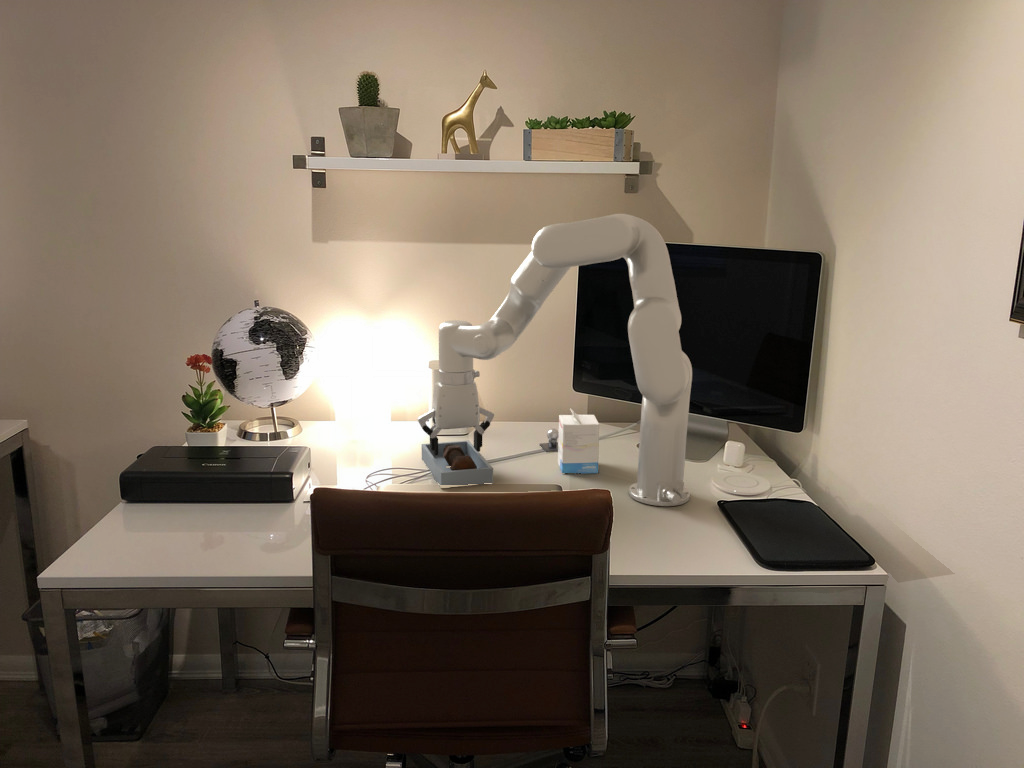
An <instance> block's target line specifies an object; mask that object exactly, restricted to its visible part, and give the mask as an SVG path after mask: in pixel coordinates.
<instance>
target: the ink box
mask: <svg viewBox="0 0 1024 768" xmlns="http://www.w3.org/2000/svg"><path fill="white" fill-rule="evenodd" d="M569 410H570V411H571V414H559V415H558V432H559V437H558V439H557V442H558V451H557V464H558V467H559V468H560V471H561V473H562V474H563V473H575V474H574V475H577V474H576V473H578V475H579V473H581V474H598V473H599V449H600V448H599V447H600V445H599V444H600V423H599V421H598V419H597V417H596V416H595V414H577V413H576V412H575V411H574V410H573V409H572V408H569ZM581 474H580V475H581Z"/></svg>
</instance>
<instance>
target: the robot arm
mask: <svg viewBox="0 0 1024 768" xmlns="http://www.w3.org/2000/svg"><path fill="white" fill-rule="evenodd" d="M621 258H623V259H624V260H625V261H626V264H627V267H628V277H629V283H630V288H631V291H632V292H631V293H632V299H633V300H632V301H633V309H632V311H631V312H630V315H629V318H628V322H627V333H628V335H627V336H628V341H629V346H630V353H631V358H632V363H633V365H632V366H633V370H634V375H635V376H634V377H635V380H636V381H635V382H636V385H637V388H638V390H639V392H640V394H641V395H642V400H641V411H640V412H641V413H640V423H639V424H640V427H639V428H640V429H639V440H638V441H639V443H638V460H637V461H638V462H637V478H636V480H637V481H636V482H634V483H633V484H631V485H630V486H629V488H628V490H629V491H628V494H629V496H630V497H631V498H632V499H633V500H635V501H637V502H639V503H642V504H646V505H650V506H654V507H655V506H656V507H674V506H680V505H684V504H686V503H687V502H688V501H690V499H691V492H690V490H689V489H688V488H687V487H685V486H684V485H685V482H684V480H685V479H684V478H685V477H684V475H685V461H686V450H687V448H686V447H687V438H688V437H687V436H688V435H687V433H688V423H689V413H690V400H691V391H692V390H691V389H692V382H693V367H692V366H693V365H692V363H691V361H690V358H689V357H688V355H687V354H686V353H685V352H684V351H683V350H682V343H681V337H680V333H679V331H680V329H681V325H682V313H681V310H680V306H679V305H680V304H679V299H678V297H677V296H678V295H677V294H678V293H677V290H676V284H675V282H676V281H675V279H674V274H673V269H672V264H671V258H670V254H669V250H668V247H667V245H666V242H665V240H664V238H663V236H662V235H661V234H660V232H659V231H658V230H657V228H656V227H655V226H653V225H652V224H651V223H650V222H648V221H647V220H644V219H642V218H641V217H637V216H635V215H632V214H628V213H612V214H610V215H605V216H604V215H603V216H600V217H595V218H588V219H584V220H578V221H572V222H565V223H564V222H563V223H561V222H560V223H559V222H558V223H554V224H548V225H546V226H543V227H542V228H541V229H539V230H538V231H537V232H536V233H535V236H533V240H532V243H531V250H530V252H529V253H528V254H527V256H526V257H525V258H524V260H523V261H522V263H521V264H520V265H519V267H517V269H516V271H514V273H513V275H512V276H511V279H510V282H509V285H510V286H509V291H508V294H507V295H506V297H505V298H504V301H502V303H501V305H500V306H499V308H498V309H497V310H496V311H495V313H494V314H493V315H492V317H491V318H490V319H489V320H487V321H485V322H483V323H481V324H478V325H473V324H472V323H471V322H470V321H467V320H456V319H455V320H445V321H443V322H441V323H440V325H439V326H438V381H437V382H434V383H435V384H434V389H433V396H432V406H431V409H430V410H428V411H427V412H425V413H423V414H422V415H420V416H418V417H417V419H416V420H417V422H418V424H419V426H420V427H421V429H422V430H423V431H424V432H425V434H427V435H428V436H429V444H430V450H431V451H432V452H433V453H434V455H438V443H439V438H438V436H437V435H438V434H439V433H440V432H441V431H442V430H454V429H465V428H466V429H468V428H474V429H475V430H474V432H473V446H474V449H475V450H476V451H478V452H479V453H480V452H481V447H483V435H484V433H485V432H486V430H487V429H488V428H489V427H490V426H491V423H492V421H493V419H494V418H495V413H493V412H492V411H490V410H488V409H485V408H483V407H481V406H480V401H479V392H478V386H477V383H476V382H475V379H476V378H479V377H480V371H479V370H475V369H474V359H477V360H482V361H488V360H492V359H495V358H496V357H497V356H499V355H501V354H502V353H505V352H506V351H507V350H509V349H510V348H512V346H513V345H514V344H515V342H516V341H517V340H518V339H519V337H520V336H521V334H522V333H523V332H524V331H525V330H526V328H527V327H528V326H529V325H530V323H532V320H533V319H534V318H535V316H536V314H537V313H538V311H539V310H540V309H541V308H542V306H543V305H544V303H545V301H546V300H547V298H548V297H549V296H550V295H551V293H552V292H553V291H554V289H555V288H556V287H557V285H558V284H559V283H560V281H561V280H562V279H563V278H564V277H565V275H566V274H568V271H569V270H570V269H571V268H573V267H581V266H587V265H592V264H598V263H606V262H611V261H612V262H613V261H615V260H620V259H621ZM480 415H483V416H485V417H484V420H483V421H482V422H481V423H480V419H481V416H480ZM430 419H431V420H432V426H431V427H429V426H428V425H427V421H429V420H430Z"/></svg>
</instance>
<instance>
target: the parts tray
mask: <svg viewBox="0 0 1024 768" xmlns="http://www.w3.org/2000/svg"><path fill="white" fill-rule="evenodd" d="M446 445H459V446H460V447H461V449H462V451H463V452H464V454H465V456H468V455H470V457H471V458H472V460H473V461H474V463H475V464H476V466H477V469H466V470H455V471H452V470H451V469H450V468H446V466H449V464H448V463H447V461H446V460H445V458H444V457H443V454H444V448H446V447H445V446H446ZM421 460H422V462H423V461H424V462H423V464H426V465H425V466H426V467H428V468H429V469H428V468H427V469H428V471H429V470H430V471H431V472H430V471H429V472H430V474H431V473H432V474H431V475H432V477H433V478H435V479H434V480H435V481H437V482H438V483H439V484H440V485H468V484H484V483H494V468H493V466H491V464H490V463H489V462H488V460H486V458H484V456H483V455H482V453H480V452H478V451H476V450H475V449H474V444H472V442H471V441H470V440H458V441H457V440H456V441H447V442H446V441H444V442H443V441H442V442H438V455H434V453H433V452H432V451H431V450H430V443H422V444H421ZM437 482H436V483H437ZM438 483H437V484H438Z"/></svg>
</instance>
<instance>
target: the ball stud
mask: <svg viewBox="0 0 1024 768" xmlns="http://www.w3.org/2000/svg"><path fill="white" fill-rule="evenodd" d="M546 437H547V439H548V442H544V443H542V442H541V443H539V447H540V446H541V447H542V448H541V447H540V448H541V449H542V450H544V451H545V452H546V453H549V452H548V451H553V452H558V438H559V429H557V428H550V429H548V431H547V433H546Z"/></svg>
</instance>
